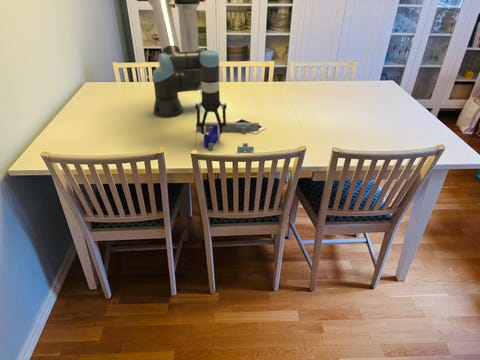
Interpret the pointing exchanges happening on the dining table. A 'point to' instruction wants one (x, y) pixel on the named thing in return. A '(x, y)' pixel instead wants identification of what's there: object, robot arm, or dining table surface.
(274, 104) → the dining table surface
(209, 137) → the blue angled bracket
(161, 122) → the dining table surface
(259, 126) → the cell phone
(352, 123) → the dining table surface
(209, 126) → the gray assembly fixture
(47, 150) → the dining table surface
